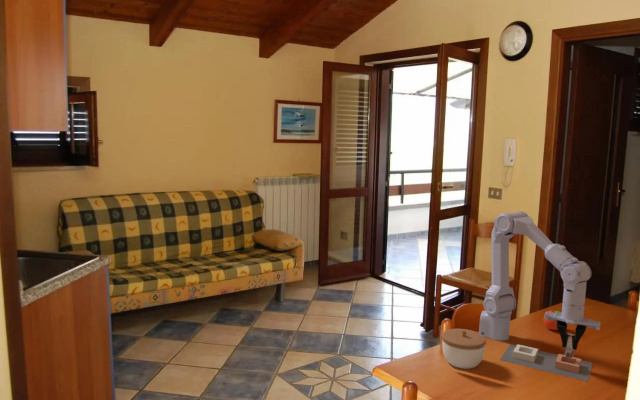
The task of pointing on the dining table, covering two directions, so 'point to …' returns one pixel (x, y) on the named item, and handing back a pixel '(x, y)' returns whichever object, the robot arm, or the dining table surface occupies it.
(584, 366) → the board
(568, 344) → the lock pin
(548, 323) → the clementine
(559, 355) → the socket
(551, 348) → the dining table surface
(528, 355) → the pin mount
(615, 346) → the dining table surface
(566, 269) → the robot arm
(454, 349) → the lidded bowl
